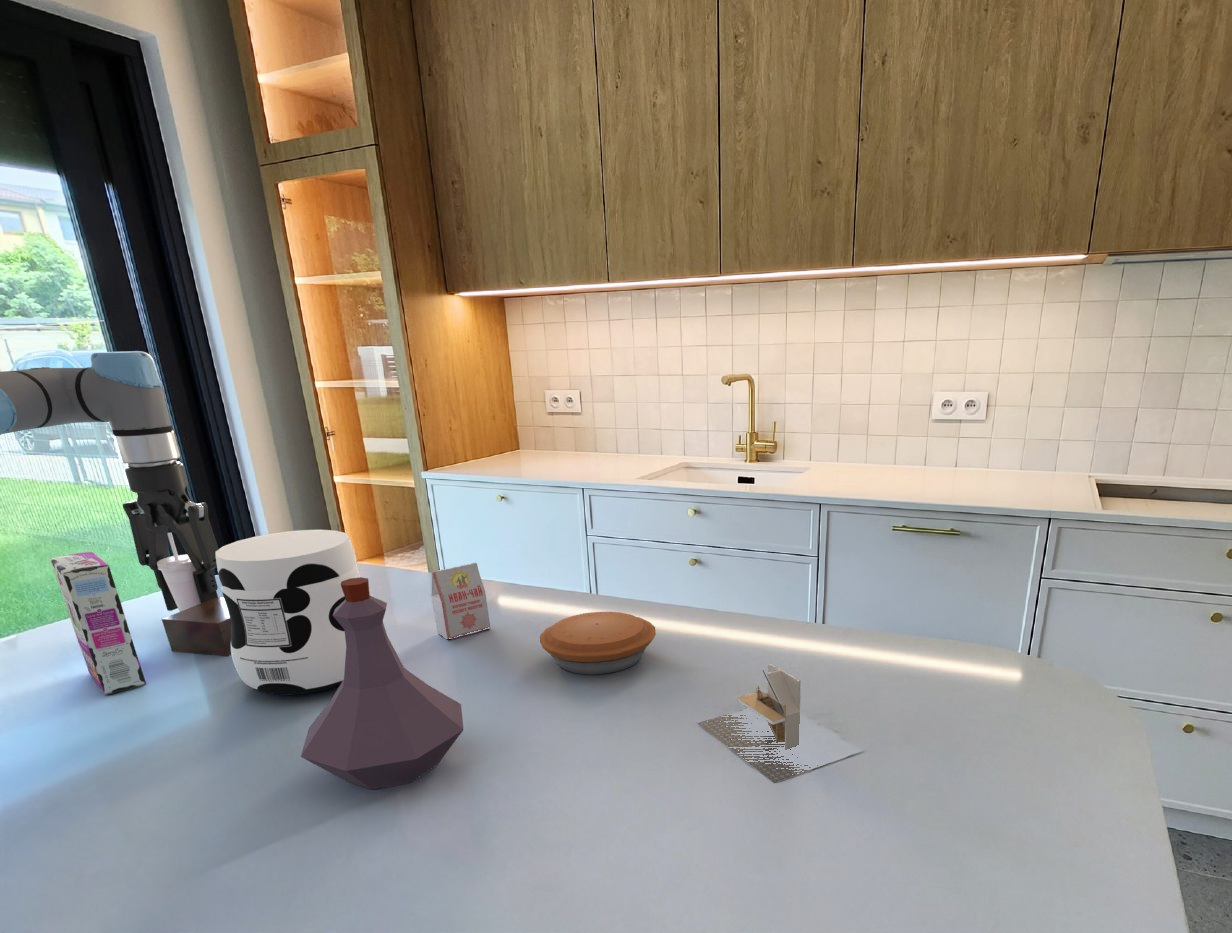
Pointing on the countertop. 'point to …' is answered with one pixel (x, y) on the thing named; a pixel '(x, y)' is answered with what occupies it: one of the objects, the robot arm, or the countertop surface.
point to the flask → (379, 706)
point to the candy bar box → (98, 621)
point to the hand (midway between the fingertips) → (194, 609)
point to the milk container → (287, 608)
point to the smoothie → (180, 578)
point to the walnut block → (200, 629)
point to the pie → (597, 641)
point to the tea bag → (459, 601)
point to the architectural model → (781, 717)
